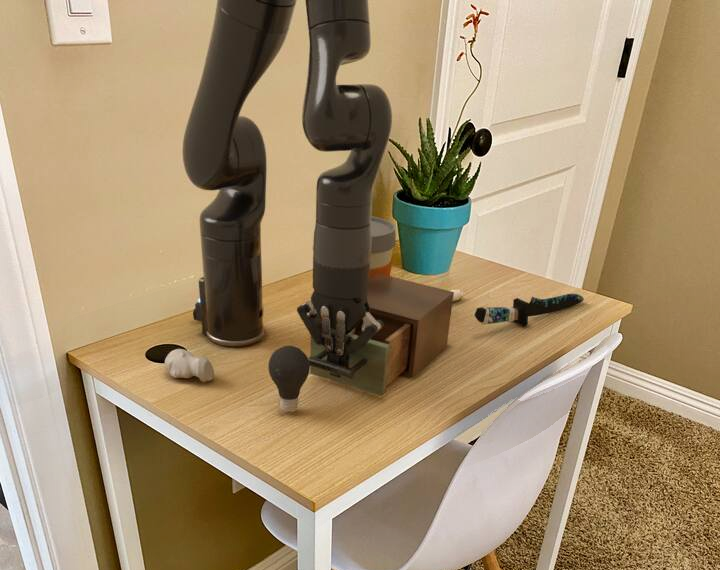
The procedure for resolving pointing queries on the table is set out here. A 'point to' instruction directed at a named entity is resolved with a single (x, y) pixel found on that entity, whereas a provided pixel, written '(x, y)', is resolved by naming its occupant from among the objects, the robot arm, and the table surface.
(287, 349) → the light bulb
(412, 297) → the cabinet
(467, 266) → the table surface
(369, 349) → the drawer
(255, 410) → the table surface
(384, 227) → the reusable coffee cup
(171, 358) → the pale two-lobed sculpture
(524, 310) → the knife
